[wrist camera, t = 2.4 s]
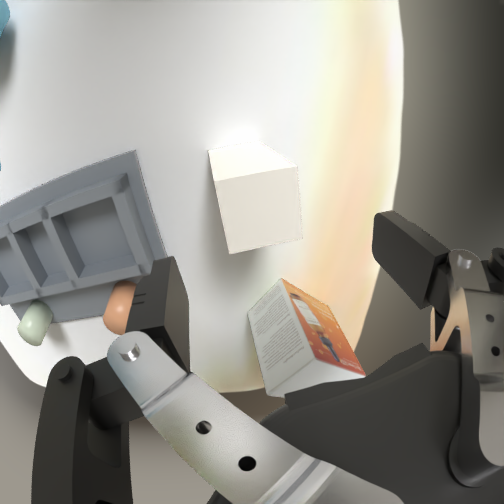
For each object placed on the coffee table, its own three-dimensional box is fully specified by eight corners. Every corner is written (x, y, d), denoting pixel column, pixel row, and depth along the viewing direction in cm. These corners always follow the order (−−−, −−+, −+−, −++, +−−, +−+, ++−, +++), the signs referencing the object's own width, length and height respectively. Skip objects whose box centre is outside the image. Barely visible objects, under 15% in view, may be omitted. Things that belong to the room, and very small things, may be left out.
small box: (328, 305, 31) (368, 376, 22) (295, 335, 32) (324, 407, 24) (280, 275, 27) (317, 358, 18) (245, 311, 29) (266, 397, 20)
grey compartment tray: (-29, 223, 17) (-52, 243, 13) (135, 149, 19) (119, 161, 15) (26, 323, 25) (14, 350, 21) (181, 296, 26) (181, 329, 22)
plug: (208, 150, 20) (213, 181, 12) (259, 141, 20) (297, 166, 13) (217, 197, 22) (229, 254, 14) (265, 187, 22) (302, 238, 15)
